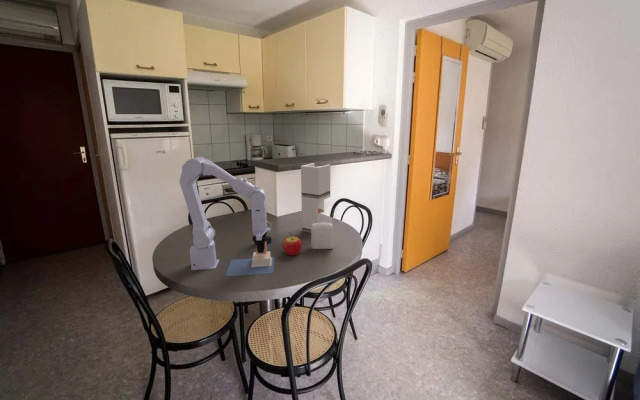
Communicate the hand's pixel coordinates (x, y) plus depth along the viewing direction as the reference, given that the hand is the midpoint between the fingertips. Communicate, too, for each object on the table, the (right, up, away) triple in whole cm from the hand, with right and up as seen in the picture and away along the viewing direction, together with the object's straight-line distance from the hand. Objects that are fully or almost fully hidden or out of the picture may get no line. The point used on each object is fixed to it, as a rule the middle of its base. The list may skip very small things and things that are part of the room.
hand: (261, 250), depth 124 cm
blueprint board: (-4, -7, -2) cm, 8 cm away
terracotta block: (0, -1, 0) cm, 1 cm away
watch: (-3, 0, +23) cm, 23 cm away
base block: (0, -5, +1) cm, 5 cm away
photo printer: (+25, -2, +16) cm, 30 cm away
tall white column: (+22, +4, +39) cm, 45 cm away
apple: (+12, -4, +10) cm, 16 cm away
